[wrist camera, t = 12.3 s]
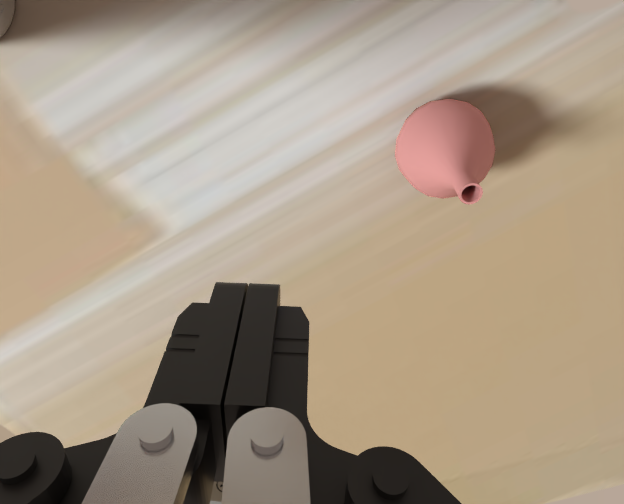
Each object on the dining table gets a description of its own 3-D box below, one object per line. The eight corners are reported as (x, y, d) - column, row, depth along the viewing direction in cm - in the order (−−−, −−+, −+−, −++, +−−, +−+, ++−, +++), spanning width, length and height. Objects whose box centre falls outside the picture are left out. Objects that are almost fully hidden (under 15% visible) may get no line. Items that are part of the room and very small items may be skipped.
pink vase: (493, 97, 40) (551, 149, 30) (462, 180, 44) (504, 250, 34) (403, 80, 40) (432, 127, 30) (380, 166, 44) (398, 233, 34)
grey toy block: (209, 465, 69) (202, 499, 64) (244, 470, 69) (240, 504, 65) (206, 485, 71) (199, 519, 67) (240, 489, 72) (235, 523, 68)
